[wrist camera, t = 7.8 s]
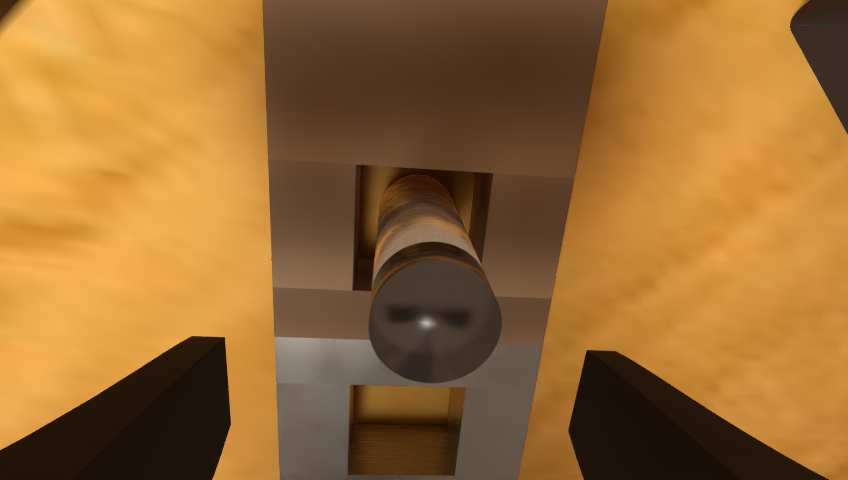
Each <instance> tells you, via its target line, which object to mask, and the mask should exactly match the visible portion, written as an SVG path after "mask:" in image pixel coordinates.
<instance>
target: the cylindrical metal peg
mask: <svg viewBox="0 0 848 480" xmlns="http://www.w3.org/2000/svg"><path fill="white" fill-rule="evenodd" d="M368 329H369V337H370V342H371V345H372V347H373V350H374V351H375V353H376V355H377V357H378V358H379V359H380V360H381V362H382V363H383V364H384V365H385V366H386V367H387V368H389V369H390V370H391V371H393V372H394V373H396V374H398V375H399V376H401V377H404V378H406V379H408V380H412V381H416V382H421V383H443V382H449V381H453V380H456V379H459V378H461V377H464V376H466V375H468V374H470V373H471V372H473V371H474V370H476V369H477V368H479V367H480V366H481V365H482V364H483V363H484V362H485V361H486V360H487V359H488V358H489V357H490V355H491V354H492V352H493V351H494V349H495V347H496V345H497V343H498V341H499V338H500V334H501V329H502V316H501V310H500V307H499V304H498V301H497V299H496V297H495V295H494V292H493V290H492V288H491V286H490V283H489V281H488V279H487V277H486V274H485V272H484V270H483V268H482V265H481V263H480V261H479V259H478V256H477V254H476V252H475V250H474V247H473V245H472V243H471V241H470V238H469V236H468V234H467V232H466V229H465V227H464V225H463V223H462V220H461V218H460V216H459V214H458V211H457V209H456V207H455V205H454V202H453V200H452V198H451V196H450V194H449V192H448V190H447V189H446V188H445V186H444V185H442V184H441V183H440V182H439V181H437V180H436V179H434V178H432V177H429V176H425V175H408V176H405V177H402V178H400V179H398V180H396V181H395V182H393V183H392V184H391V185H390V186H389V187H388V188H387V189H386V191H385V192H384V194H383V196H382V198H381V201H380V206H379V216H378V227H377V238H376V249H375V260H374V271H373V281H372V292H371V303H370V314H369V326H368Z"/></svg>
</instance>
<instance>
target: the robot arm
mask: <svg viewBox="0 0 848 480" xmlns="http://www.w3.org/2000/svg"><path fill="white" fill-rule="evenodd" d="M230 425H231V419H230V405H229V391H228V376H227V362H226V348H225V337H200V336H191V337H190V338H188V339H186V340H184V341H182V342H181V343H179V344H177V345H176V346H174V347H172V348H171V349H169V350H168V351H166V352H164V353H163V354H161V355H160V356H158V357H157V358H155V359H153V360H152V361H150V362H149V363H147V364H146V365H144V366H143V367H141V368H139V369H138V370H136V371H135V372H133V373H131V374H130V375H128V376H127V377H125V378H124V379H122V380H120V381H119V382H117V383H116V384H114V385H112V386H111V387H109V388H108V389H106V390H104V391H103V392H101V393H100V394H98V395H96V396H95V397H93V398H92V399H90V400H88V401H86V402H85V403H83V404H81V405H79V406H78V407H76V408H74V409H73V410H71V411H69V412H67V413H66V414H64V415H62V416H61V417H59V418H57V419H55V420H54V421H52V422H50V423H48V424H47V425H45V426H43V427H42V428H40V429H38V430H36V431H35V432H33V433H31V434H30V435H28V436H26V437H24V438H22V439H20V440H19V441H17V442H15V443H13V444H11V445H9V446H8V447H6V448H4V449H2V450H0V480H212V478H213V476H214V474H215V471H216V468H217V465H218V462H219V459H220V456H221V453H222V450H223V447H224V444H225V441H226V438H227V434H228V431H229V428H230ZM568 431H569V434H570V438H571V441H572V444H573V448H574V451H575V454H576V458H577V460H578V463H579V466H580V469H581V472H582V475H583V478H584V480H829V479H827V478H825V477H823V476H821V475H819V474H817V473H815V472H813V471H811V470H810V469H808V468H806V467H804V466H802V465H801V464H799V463H797V462H795V461H793V460H792V459H790V458H788V457H786V456H784V455H783V454H781V453H779V452H778V451H776V450H774V449H772V448H771V447H769V446H767V445H766V444H764V443H762V442H761V441H759V440H757V439H756V438H754V437H752V436H750V435H749V434H747V433H745V432H744V431H742V430H740V429H739V428H737V427H736V426H734V425H732V424H731V423H729V422H728V421H726V420H724V419H723V418H721V417H720V416H718V415H716V414H715V413H713V412H712V411H710V410H708V409H707V408H705V407H704V406H702V405H701V404H699V403H698V402H696V401H694V400H693V399H691V398H690V397H688V396H687V395H685V394H684V393H682V392H681V391H679V390H678V389H676V388H674V387H673V386H671V385H670V384H668V383H667V382H665V381H664V380H662V379H661V378H659V377H658V376H656V375H655V374H653V373H651V372H650V371H648V370H647V369H645V368H644V367H642V366H640V365H639V364H637V363H636V362H634V361H632V360H631V359H629V358H627V357H625V356H623V355H622V354H620V353H618V352H616V351H594V350H587V352H586V356H585V360H584V365H583V369H582V373H581V378H580V382H579V386H578V391H577V395H576V399H575V404H574V408H573V412H572V417H571V421H570V426H569V430H568Z"/></svg>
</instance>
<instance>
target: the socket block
mask: <svg viewBox="0 0 848 480" xmlns="http://www.w3.org/2000/svg"><path fill="white" fill-rule="evenodd" d="M542 348H543V346H538V345H507V344H497V345H496V347H495V349H494V351H493V352H492V354H491V355H490V357H489V358H488V359H487V360H486V361H485V362H484V363H483V364H482V365H481V366H480V367H479V368H477V369H476V370H474V371H473V372H471V373H470V374H468V375H466V376H464V377H461V378H459V379H456V380H453V381H449V382H443V383H421V382H416V381H412V380H408V379H406V378H404V377H401V376H399V375H398V374H396V373H394V372H393V371H391V370H390V369H389V368H387V367H386V366H385V365H384V364H383V363H382V362H381V360H380V359H379V358H378V357H377V355H376V353H375V351H374V350H373V347H372V345H371V342H370V340H353V339H322V338H291V337H275V353H276V381H277V409H278V437H279V465H280V480H518V475H519V470H520V464H521V459H522V454H523V448H524V443H525V438H526V433H527V427H528V422H529V417H530V411H531V406H532V401H533V396H534V390H535V385H536V380H537V374H538V369H539V364H540V359H541V353H542ZM354 385H385V386H426V387H451V395H450V404H449V413H448V421H447V425H406V424H353V410H354Z"/></svg>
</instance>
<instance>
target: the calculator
mask: <svg viewBox="0 0 848 480" xmlns="http://www.w3.org/2000/svg"><path fill="white" fill-rule="evenodd" d="M790 28H791V31H792V33H793V35H794V37H795V39H796V41H797V43H798V45H799V46H800V48H801V50H802V52H803V54H804V56H805V57H806V59H807V61H808V63H809V65H810V67H811V68H812V70H813V72H814V74H815V76H816V77H817V79H818V81H819V83H820V85H821V87H822V88H823V90H824V92H825V94H826V96H827V97H828V99H829V101H830V103H831V105H832V107H833V108H834V110H835V112H836V114H837V116H838V117H839V119H840V121H841V123H842V125H843V127H844V128H845V130H846V132H847V134H848V0H810V1H809V2H808V3H807V4H806V5H804V6H803V7H802V8H801V9H800V10H799V11H798V12H797V13H796V14H795V15H794V16H793V18H792V20H791V24H790Z"/></svg>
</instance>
